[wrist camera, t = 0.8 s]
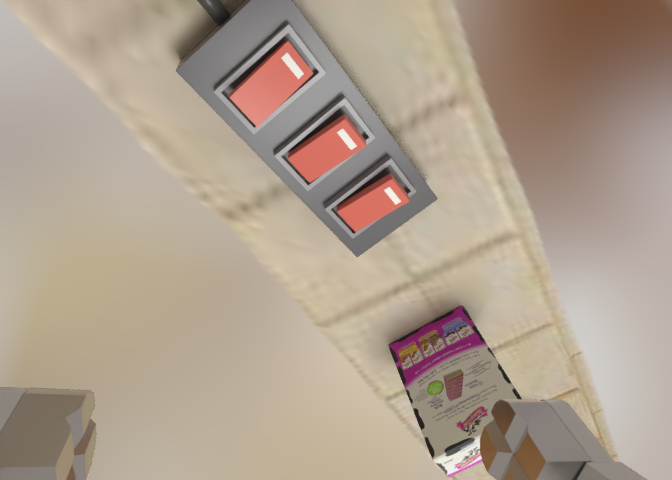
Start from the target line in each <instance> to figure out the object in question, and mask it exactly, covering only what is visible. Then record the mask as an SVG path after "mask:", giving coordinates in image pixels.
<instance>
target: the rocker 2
mask: <svg viewBox="0 0 672 480" xmlns="http://www.w3.org/2000/svg"><path fill="white" fill-rule="evenodd" d="M364 147H366V140H365V139H364V138H363V136H362V135H361V134H360V132H359V131H358V130H357V129H356V127H355V126H354V125H353V123H352V122H351V121H350V120H349V118H348V117H347V116H346V114H344V115H342V116H341V117H339V118H338V119H336V120H335V121H333V122H332V123H331V124H329V125H328V126H326V127H325V128H323V129H322V130H321V131H319V132H318V133H316V134H315V135H313V136H312V137H310V138H309V139H308V140H306V141H305V142H303V143H302V144H300V145H299V146H298V147H296V148H295V149H293V150H292V151H290V152H289V153H288V160H289V161H290V162H291V163H292V164H293V165H294V166H295V168H296V169H297V170H298V171H299V172H300V173H301V174H302V175H303V176H304V177H305V178H306V179H307V180H308V182H309V183H310V182H312V181H313V180H315V179H316V178H318V177H320V176H321V175H323V174H324V173H326V172H327V171H329V170H330V169H332V168H333V167H335V166H337V165H338V164H340V163H341V162H343V161H344V160H346V159H347V158H349V157H350V156H352V155H354V154H355V153H357V152H358V151H360V150H361V149H363V148H364Z"/></svg>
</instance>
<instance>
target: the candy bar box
mask: <svg viewBox="0 0 672 480" xmlns="http://www.w3.org/2000/svg"><path fill="white" fill-rule="evenodd" d="M389 348H390V351H391V354H392V357H393V359H394V362H395V364H396V367H397V369H398V372H399V374H400V377H401V380H402V382H403V384H404V387H405V390H406V392H407V395H408V397H409V400H410V402H411V405H412V408H413V410H414V413H415V416H416V418H417V421H418V424H419V426H420V428H421V431H422V433H423V436H424V438H425V441H426V444H427V447H428V449H429V452H430V454H431V456H432V459H433V461H434V462H435V463H436V464H437V465H438V466H439V467H440V468H441V469H442V470H443V471H444V472H445V474H446V475H447V476H448V477H451V476H453V475H455V474H457V473H459V472H461V471H463V470H465V469H467V468H469V467H471V466H473V465H475V464H477V463H479V462H481V461H482V457H481V453H480V437H481V434H482V432H483V429H484V427H485V426H486V425H487V424H489V423H490V422H491V421H493V420H494V418H493V416H492V414H491V411H492V409H493V406H494V404H495V403H496V402H497V401H499V400H500V399H522V398H521V397H520V395H519V394H518V392H517V391H516V389H515V388H514V386H513V385H512V383H511V381H510V380H509V378H508V377H507V375H506V373H505V372H504V370H503V369H502V367H501V366H500V364H499V362H498V361H497V359H496V358H495V356H494V354H493V353H492V351H491V350H490V348H489V347H488V345H487V343H486V342H485V340H484V339H483V337H482V335H481V334H480V332H479V331H478V329H477V327H476V326H475V324H474V323H473V321H472V319H471V318H470V316H469V314H468V313H467V311H466V310H465V308H464V307H463V306H461V307H459V308H457V309H455V310H453V311H451V312H449V313H448V314H446V315H444V316H442V317H440V318H439V319H437V320H435V321H433V322H431V323H429V324H428V325H426V326H424V327H422V328H420V329H418V330H417V331H415V332H413V333H411V334H409V335H408V336H406V337H404V338H402V339H400V340H398V341H397V342H395V343H393V344H391V345H389Z"/></svg>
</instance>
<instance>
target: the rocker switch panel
mask: <svg viewBox="0 0 672 480" xmlns="http://www.w3.org/2000/svg"><path fill="white" fill-rule="evenodd" d="M197 1H198V2H199V3H200V4H201V5H202V6H203V8H204V9H205V10H206V11H207V12H208V13H209V15H210V16H211V17H212V18H213V19H214V20H215V22H216V23H217V24H218V26H217V27H216V28H215V29H214V30H213V31H212V32H211V33H210V34H208V35H207V36H206V37H205V38H204V39H203V40H202V41H201V42H200V43H199V44H198V45H197V46H196V47H195V48H194V49H192V50H191V51H190V52H189V53H188V54H187V55H186V56H185V57H184V58H183V59H182V60H181V61H180V63H179V65H178V67H177V69H176V72H177V73H178V74H179V75H180V76H181V77H182V78H183V79H184V80H185V81H186V82H187V83H188V84H189V85H190V86H191V87H192V88H193V89H194V90H195V91H196V92H197V93H198V94H199V95H200V96H201V97H202V98H203V99H204V100H205V101H206V102H207V103H208V104H209V105H210V106H211V108H212V109H213V110H214V111H215V112H216V113H217V114H218V115H219V116H220V117H221V118H222V119H223V120H224V121H225V122H226V123H227V124H228V125H229V126H230V127H231V128H232V129H233V130H234V131H235V132H236V133H237V134H238V135H239V136H240V137H241V138H242V139H243V140H244V141H245V142H246V144H247V145H248V146H249V147H250V148H251V149H252V150H253V151H254V152H255V153H256V154H257V155H258V156H259V157H260V158H261V159H262V160H263V161H264V162H265V163H266V164H267V165H268V166H269V167H270V168H271V169H272V170H273V171H274V172H275V173H276V174H277V175H278V176H279V177H280V178H281V179H282V181H283V182H284V183H285V184H286V185H287V186H288V187H289V188H290V189H291V190H292V191H293V192H294V193H295V194H296V195H297V196H298V197H299V198H300V199H301V200H302V201H303V202H304V203H305V204H306V205H307V206H308V207H309V208H310V209H311V210H312V211H313V212H314V213H315V214H316V215H317V217H318V218H319V219H320V220H321V221H322V222H323V223H324V224H325V225H326V226H327V227H328V228H329V229H330V230H331V231H332V232H333V233H334V234H335V235H336V236H337V237H338V238H339V239H340V240H341V241H342V242H343V243H344V244H345V245H346V246H347V247H348V248H349V249H350V250H351V251H352V252H353V254H354V255H355V256H356V257H358V256H360V255H361V254H363V253H364V252H365V251H367V250H368V249H369V248H371V247H372V246H374V245H375V244H376V243H378V242H379V241H380V240H382V239H383V238H385V237H386V236H387V235H389V234H390V233H391V232H393V231H394V230H396V229H397V228H398V227H400V226H401V225H402V224H404V223H405V222H407V221H408V220H409V219H411V218H412V217H414V216H415V215H416V214H418V213H419V212H420V211H422V210H423V209H425V208H426V207H427V206H429V205H430V204H431V203H433V202H434V201H436V200H437V199H438V198H437V197H436V195H435V194H434V193H433V191H432V190H431V189H430V187H429V186H428V185H427V183H426V182H425V181H424V179H423V178H422V176H421V175H420V174H419V172H418V171H417V170H416V168H415V167H414V166H413V164H412V163H411V161H410V160H409V159H408V157H407V156H406V155H405V153H404V152H403V151H402V149H401V148H400V146H399V145H398V144H397V142H396V141H395V140H394V138H393V137H392V136H391V134H390V133H389V131H388V130H387V129H386V127H385V126H384V125H383V123H382V122H381V121H380V119H379V118H378V116H377V115H376V114H375V112H374V111H373V110H372V108H371V107H370V106H369V104H368V103H367V102H366V100H365V99H364V97H363V96H362V95H361V93H360V92H359V91H358V89H357V88H356V87H355V85H354V84H353V82H352V81H351V80H350V78H349V77H348V76H347V74H346V73H345V72H344V70H343V69H342V67H341V66H340V65H339V63H338V62H337V61H336V59H335V58H334V57H333V55H332V54H331V52H330V51H329V50H328V48H327V47H326V46H325V44H324V43H323V42H322V40H321V39H320V38H319V36H318V35H317V33H316V32H315V31H314V29H313V28H312V27H311V25H310V24H309V23H308V21H307V20H306V18H305V17H304V16H303V14H302V13H301V12H300V10H299V9H298V8H297V6H296V5H295V3H294V2H293V1H292V0H245V1H244V2H243V3H242V4H240V5H239V6H238V7H237V8H236V9H235V10H234V11H233V12H232V13H231V14H229V13H228V12H227V10H226V9H225V8H224V7H223V6H222V4H221V3H220V2H219V1H218V0H197ZM285 40H286V41H289V42H290V44H291V45H292V46H293V48H294V49H295V50H296V51H297V53H298V54H299V55H300V57H301V58H302V59H303V60H304V62H305V63H306V64H307V65H308V67H309V68H310V69H311V71H312V72H313V73H314V74H313V75H312V76H310V77H309V78H308V79H307V80H306V81H305V82H304V83H303V84H302V85H301V86H300V87H299V88H298V89H297V90H296V91H295V92H294V93H293V94H292V95H291V96H290V97H289V98H287V99H286V100H285V101H284V102H283V103H282V104H281V105H280V106H279V107H278V108H277V109H276V110H275V111H274V112H273V113H272V114H271V115H270V116H269V117H268V118H267V119H266V120H264V121H263V122H262V123H261V124H260V125H259V126H258V127H256V126H255V125H254V123H253V122H252V121H251V120H250V119H249V118H248V117H247V116H246V115H245V114H244V113H243V112H242V111H241V109H240V108H239V107H238V106H237V105H236V104H235V103H234V102H233V101H232V100H231V99H230V98H229V97H228V95H229V94H230V93H231V92H232V91H233V90H234V89H235V88H236V87H237V86H238V85H239V84H240V83H241V82H242V81H243V80H244V79H245V78H247V77H248V76H249V75H250V74H251V73H252V72H253V71H254V70H255V69H256V68H257V67H258V66H259V65H260V64H261V63H262V62H263V61H264V60H265V59H266V58H267V57H268V56H269V55H270V54H271V53H272V52H274V51H275V50H276V49H277V48H278V47H279V46H280V45H281V44H282V43H283V42H284V41H285ZM344 114H346V116H347V117H348V118H349V120H350V121H351V122H352V123H353V125H354V126H355V127H356V129H357V130H358V131H359V132H360V134H361V135H362V136H363V138H364V139H365V140H366V147H364V148H363V149H361V150H360V151H358V152H357V153H355V154H354V155H352V156H350V157H349V158H347V159H346V160H344V161H343V162H341V163H340V164H338V165H337V166H335V167H333V168H332V169H330V170H329V171H327V172H326V173H324V174H323V175H321V176H320V177H318V178H316V179H315V180H313V181H312V182H310V183H309V182H308V180H307V179H306V178H305V177H304V176H303V175H302V174H301V173H300V172H299V171H298V170H297V169H296V168H295V166H294V165H293V164H292V163H291V162H290V161H289V160H288V153H289V152H290V151H292V150H293V149H295V148H296V147H298V146H299V145H300V144H302V143H303V142H305V141H306V140H308V139H309V138H310V137H312V136H313V135H315V134H316V133H318V132H319V131H321V130H322V129H323V128H325V127H326V126H328V125H329V124H331V123H332V122H333V121H335V120H336V119H338V118H339V117H341V116H342V115H344ZM390 173H392V175H393V176H394V177H395V179H396V180H397V181H398V182H399V184H400V185H401V186H402V187H403V189H404V190H405V191H406V193H407V194H408V196H409V200H410V201H409V202H408V203H406V204H404V205H402V206H401V207H399V208H397V209H395V210H394V211H392V212H390V213H388V214H387V215H385V216H383V217H381V218H380V219H378V220H376V221H374V222H373V223H371V224H369V225H367V226H365V227H364V228H362V229H360V230H358V231H357V232H355V231H354V230H353V229H352V228H351V227H350V226H349V225H348V223H347V222H346V221H345V220H344V219H343V218H342V217H341V216H340V215H339V214H338V213H337V205H339V204H340V203H342V202H344V201H345V200H347V199H349V198H350V197H352V196H354V195H355V194H357V193H358V192H360V191H362V190H363V189H365V188H367V187H368V186H370V185H372V184H373V183H375V182H377V181H378V180H380V179H382V178H383V177H385V176H386V175H388V174H390Z"/></svg>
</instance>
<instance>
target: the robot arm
mask: <svg viewBox="0 0 672 480" xmlns="http://www.w3.org/2000/svg"><path fill="white" fill-rule="evenodd" d="M94 407H95V400H94V392H92V391H90V390H69V389H48V388H13V387H12V388H11V387H0V480H85V479H86V478H87V475H88V473H89V470H90V466H91V464H92V458H93V454H94V450H95V443H96V424H95V423H94V422H93V421H92V420H91V419H90V418H91V415H92V412H93V410H94ZM491 414H492V416H493V418H494V420H493V421H491V422H490V423H489V424H487V425H486V426H485V427H484V429H483V432H482V434H481V437H480V453H481V457H482V461H483V463H484V466H485V468H486V470H487V472H488V473H489V474H490V475H491V476H493V477H494V478H495V479H496V480H647V479H645V478H644V477H642V476H641V475H639V474H638V473H636V472H635V471H633V470H632V469H630V468H629V467H627V466H626V465H624V464H623V463H621V462H614V461H613V459H612V458H611V457H610V455H609V454H608V453H607V452H606V450H605V449H604V448H603V447H602V445H601V444H600V443H599V441H598V440H597V439H596V438H595V436H594V435H593V434H592V433H591V431H590V430H589V429H588V428H587V426H586V425H585V424H584V422H583V421H582V420H581V419H580V417H579V416H578V415H577V414H576V412H575V411H574V410H573V408H572V407H571V406H570V405H569V404H568V403H566V402H565V401H563V400H526V399H500V400H499V401H497V402H496V403H495V404H494V406H493V409H492V411H491Z"/></svg>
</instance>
